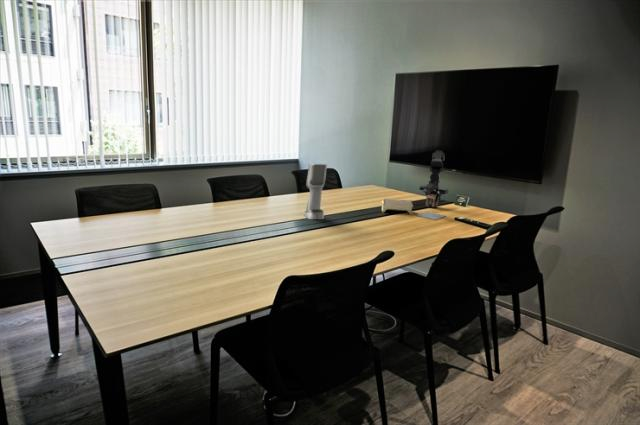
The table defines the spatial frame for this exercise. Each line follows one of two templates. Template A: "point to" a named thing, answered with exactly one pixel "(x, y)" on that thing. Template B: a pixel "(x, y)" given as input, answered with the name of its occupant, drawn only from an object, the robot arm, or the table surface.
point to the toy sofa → (397, 205)
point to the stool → (431, 200)
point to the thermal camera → (315, 190)
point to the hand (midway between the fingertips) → (432, 201)
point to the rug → (431, 215)
